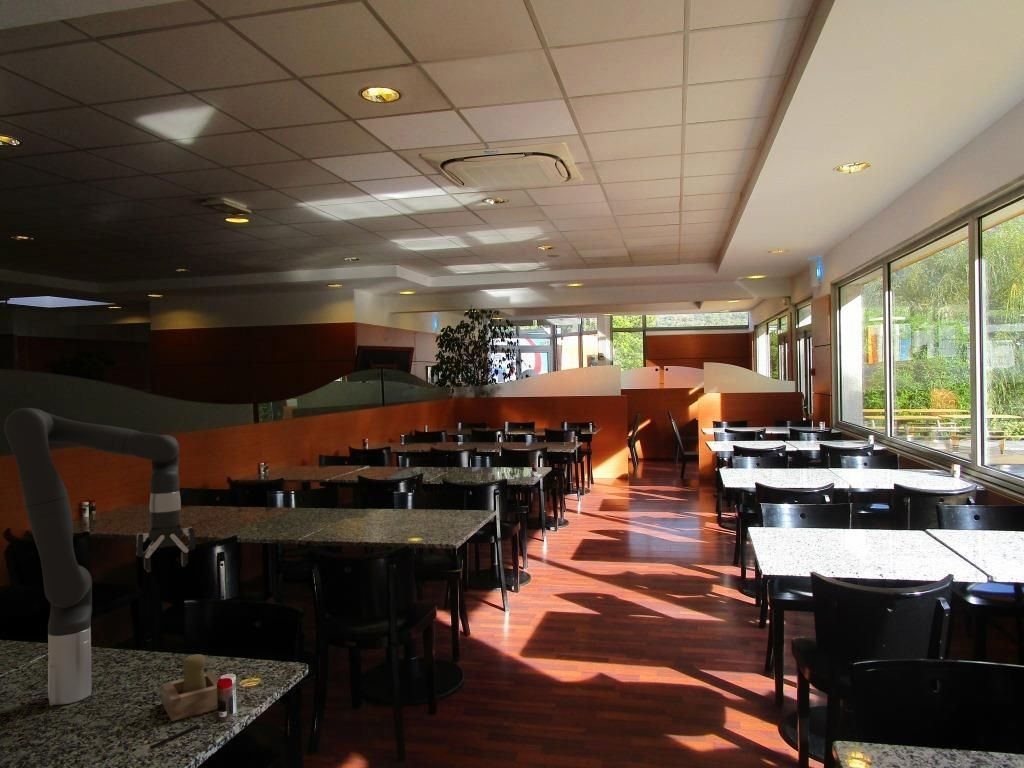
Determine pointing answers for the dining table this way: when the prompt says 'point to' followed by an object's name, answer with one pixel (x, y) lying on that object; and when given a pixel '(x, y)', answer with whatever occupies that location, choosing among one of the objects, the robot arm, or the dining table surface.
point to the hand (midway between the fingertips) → (166, 568)
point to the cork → (194, 673)
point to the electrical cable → (175, 736)
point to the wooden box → (189, 698)
